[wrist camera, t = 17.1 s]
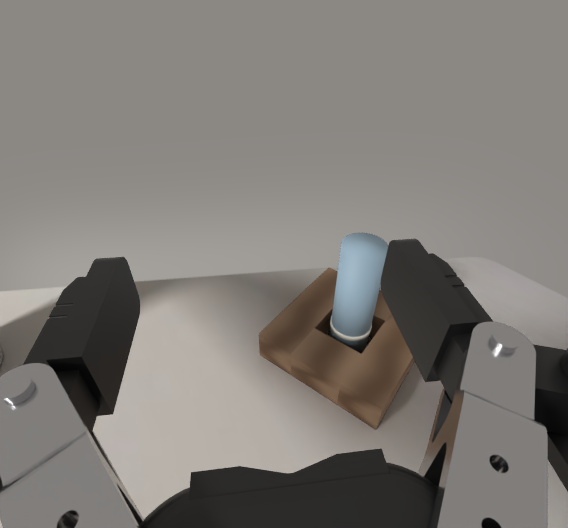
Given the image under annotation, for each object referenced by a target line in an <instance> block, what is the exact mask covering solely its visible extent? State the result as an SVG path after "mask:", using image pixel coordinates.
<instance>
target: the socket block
mask: <svg viewBox="0 0 568 528" xmlns="http://www.w3.org/2000/svg"><path fill="white" fill-rule="evenodd" d="M337 273H338V272H337V271H335V270H333V269H331V268H328V269H327V270H326V271H325V272H324V273H322V274H321V275H320V276H319V277H318V278H317V279H316V280H315V281H314V282H313V283H312V284H311V285H310V286H309V287H308V288H307V289H306V290H305V291H303V292H302V293H301V294H300V295H299V296H298V297H297V298H296V299H295V300H294V301H293V302H292V303H291V304H290V305H289V306H288V307H287V308H286V309H284V310H283V311H282V312H281V313H280V314H279V315H278V316H277V317H276V318H275V319H274V320H273V321H272V322H271V323H270V324H269V325H268V326H267V327H265V328H264V329H263V330H262V331H261V332H260V333H259V344H260V355H261V356H263V357H264V358H266V359H267V360H269V361H271V362H272V363H274V364H275V365H277V366H278V367H280V368H281V369H283V370H284V371H286V372H288V373H289V374H291V375H292V376H294V377H295V378H297V379H298V380H300V381H302V382H303V383H305V384H306V385H308V386H309V387H311V388H312V389H314V390H315V391H317V392H319V393H320V394H322V395H323V396H325V397H326V398H328V399H329V400H331V401H332V402H334V403H336V404H337V405H339V406H340V407H342V408H343V409H345V410H346V411H348V412H349V413H351V414H353V415H354V416H356V417H357V418H359V419H360V420H362V421H363V422H365V423H366V424H368V425H370V426H371V427H373V428H374V429H377V427H378V425H379V423H380V422H381V420H382V418H383V416H384V414H385V413H386V411H387V409H388V407H389V406H390V404H391V402H392V400H393V398H394V397H395V395H396V393H397V391H398V390H399V388H400V386H401V384H402V382H403V381H404V379H405V377H406V375H407V373H408V372H409V370H410V368H411V366H412V365H413V363H414V361H415V360H414V358H413V356H412V354H411V352H410V350H409V348H408V346H407V344H406V342H405V340H404V338H403V336H402V334H401V332H400V330H399V328H398V326H397V324H396V322H395V320H394V318H393V316H392V314H391V312H390V310H389V308H388V306H387V304H386V302H385V300H384V297H383V295H382V291H380V290H379V294H378V298H377V302H376V307H375V311H374V315H373V320H372V328H371V332H370V334H369V336H370V337H372V338H373V339H372V340H371V342H370V343H369V344H368V346H367V347H366V348H365V350H364V351H363V353H362V354H361V353H359V352H357V351H355V350H353V349H352V348H350V347H348V346H346V345H344V344H343V343H341V342H339V341H337V340H335V339H333V338H332V337H330V336H328V335H326V333H327V332H328V330H329V329H330V327H331V326H330V320H331V316H332V311H333V304H334V296H335V288H336V281H337Z"/></svg>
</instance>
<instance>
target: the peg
mask: <svg viewBox="0 0 568 528" xmlns="http://www.w3.org/2000/svg"><path fill="white" fill-rule="evenodd" d="M387 249H388V244H387V243H386V242H385V241H384V240H383V239H381V238H380V237H378V236H375V235H373V234H368V233H354V234H350V235H348V236H346V237H345V238H344V239H343V240H342V242H341V250H340V257H339V265H338V273H337V281H336V288H335V296H334V304H333V311H332V316H331V320H330V326H331V327H330V334H329V336H330V337H332V338H333V339H335V340H337V341H339V342H341V343H343V344H344V345H346V346H348V347H350V348H352V349H353V350H355V351H357V352H359V353H361V354H362V353H363V351H364V350H365V348H366V345H367V341H368V337H369V334H370V332H371V328H372V320H373V315H374V311H375V307H376V302H377V298H378V294H379V290H380V285H381V276H382V271H383V267H384V263H385V258H386V254H387Z"/></svg>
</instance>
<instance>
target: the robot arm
mask: <svg viewBox="0 0 568 528" xmlns="http://www.w3.org/2000/svg"><path fill="white" fill-rule="evenodd" d="M381 291H382V295H383V297H384V300H385V302H386V304H387V306H388V308H389V310H390V312H391V314H392V316H393V318H394V320H395V322H396V324H397V326H398V328H399V330H400V332H401V334H402V336H403V338H404V340H405V342H406V344H407V346H408V348H409V350H410V352H411V354H412V356H413V358H414V360H415V362H416V364H417V366H418V368H419V370H420V372H421V374H422V376H423V378H424V380H425V382H430V381H439V380H440V381H441V382H442V384H443V386H444V389H443V391H442V394H441V397H440V401H439V405H438V409H437V412H436V416H435V420H434V424H433V428H432V432H431V435H430V439H429V443H428V447H427V450H426V453H425V456H424V459H423V461H422V464H421V466H420V469H419V472H418V474H417V473H416V472H414V471H411V470H409V469H407V468H404V467H402V466H398V465H395V464H391V463H386V461H385V458H384V455H383V452H382V449H374V450H366V451H358V452H350V453H342V454H336V455H334V456H331V457H329V458H327V459H324V460H322V461H320V462H318V463H315V464H313V465H311V466H308V467H306V468H304V469H301V470H299V471H297V472H294V473H289V474H287V473H280V472H273V471H267V470H260V469H254V468H247V467H241V466H238V467H231V468H223V469H215V470H207V471H199V472H191V481H190V487H189V488H187V489H185V490H183V491H181V492H179V493H177V494H175V495H174V496H172V497H170V498H169V499H168V500H166V501H165V502H163V503H162V504H161V505H159V506H158V507H157V508H156V509H155V510H154V511H153V512H152V513H150V514H149V515H148V516H147V517H146V518H145V519H143V517H142V515H141V514H140V512H139V510H138V509H137V507H136V505H135V503H134V502H133V500H132V499H131V497H130V495H129V494H128V492H127V490H126V489H125V487H124V485H123V483H122V481H121V480H120V478H119V476H118V474H117V473H116V471H115V469H114V467H113V465H112V464H111V462H110V460H109V458H108V457H107V455H106V453H105V451H104V449H103V448H102V446H101V444H100V442H99V441H98V439H97V437H96V435H95V433H94V432H93V427H94V424H95V420H96V417H97V416H100V415H110V414H113V412H114V408H115V404H116V401H117V397H118V393H119V389H120V386H121V382H122V378H123V375H124V371H125V367H126V363H127V360H128V356H129V352H130V348H131V345H132V341H133V337H134V334H135V330H136V326H137V322H138V319H139V314H140V300H139V295H138V292H137V289H136V286H135V283H134V280H133V277H132V274H131V271H130V268H129V265H128V262H127V260H126V259H125V258H124V257H116V258H101V259H95V260H94V262H93V264H92V266H91V268H90V270H89V272H88V274H87V276H86V277H78V278H76V279H75V280H74V281H73V282H72V283H71V284H70V285H69V286H67V287H66V288H65V289H64V290H63V292H62V294H61V295H60V297H59V299H58V301H57V303H56V307H54V308H53V310H52V312H51V314H50V316H49V317H50V319H48V320H47V321H46V323H45V325H44V327H43V329H42V331H41V333H40V334H39V336H38V338H37V340H36V342H35V344H34V346H33V347H32V349H31V351H30V353H29V355H28V357H27V359H26V360H25V362H24V364H23V365H22V366H19V367H16V368H14V369H12V370H10V371H8V372H6V373H4V374H3V375H2V376H0V519H1V523H2V526H3V528H548V460H549V462H550V463H551V465H552V467H553V468H554V470H555V472H556V473H557V475H558V476H559V478H560V480H561V481H562V483H563V485H564V486H565V488H566V489H567V491H568V349H567V350H562V349H556V348H550V347H544V346H538V345H533V344H532V343H531V341H530V340H529V339H528V338H527V337H526V336H525V335H524V334H522V333H521V332H520V331H518V330H516V329H515V328H513V327H511V326H508V325H506V324H502V323H498V322H493V320H492V319H491V318H490V317H489V315H488V314H487V313H486V312H485V310H484V309H483V308H482V306H481V305H480V304H479V303H478V301H477V300H476V299H475V298H474V296H473V295H472V294H471V292H470V291H469V290H468V289H467V287H464V283H463V282H462V281H461V280H460V278H459V277H457V275H456V273H455V272H454V271H453V269H452V268H451V267H450V266H449V264H448V263H447V262H445V261H444V260H442V259H441V258H439V257H437V256H436V255H435V254H428V253H427V251H426V250H425V249H424V247H423V246H422V245H421V243H420V242H419V241H418V240H417V239H405V240H392V241H391V242H390V243H389V246H388V249H387V254H386V258H385V263H384V267H383V271H382V276H381ZM2 360H3V352H2V349H1V348H0V365H1V363H2Z"/></svg>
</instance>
